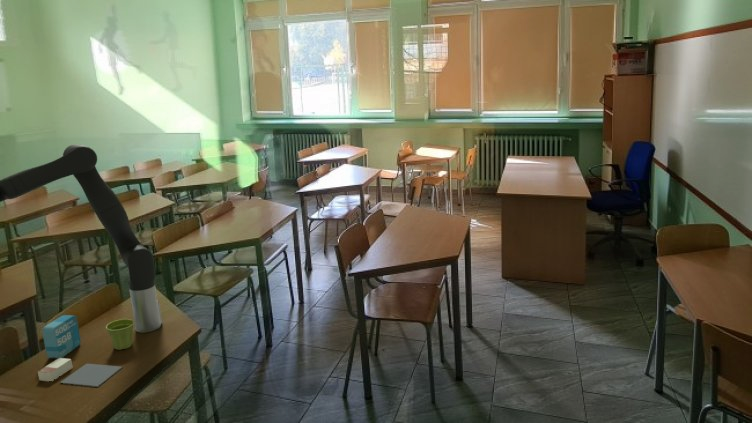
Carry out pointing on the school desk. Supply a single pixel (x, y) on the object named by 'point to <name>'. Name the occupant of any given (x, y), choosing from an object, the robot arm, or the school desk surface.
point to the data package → (61, 336)
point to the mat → (91, 375)
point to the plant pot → (121, 333)
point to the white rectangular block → (55, 369)
